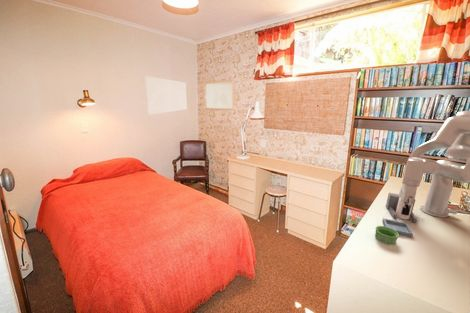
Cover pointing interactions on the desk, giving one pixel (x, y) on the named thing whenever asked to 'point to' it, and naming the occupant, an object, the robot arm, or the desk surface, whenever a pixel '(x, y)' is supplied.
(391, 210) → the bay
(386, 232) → the ramekin
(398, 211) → the can
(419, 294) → the desk surface
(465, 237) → the desk surface
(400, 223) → the tray
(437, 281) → the desk surface
